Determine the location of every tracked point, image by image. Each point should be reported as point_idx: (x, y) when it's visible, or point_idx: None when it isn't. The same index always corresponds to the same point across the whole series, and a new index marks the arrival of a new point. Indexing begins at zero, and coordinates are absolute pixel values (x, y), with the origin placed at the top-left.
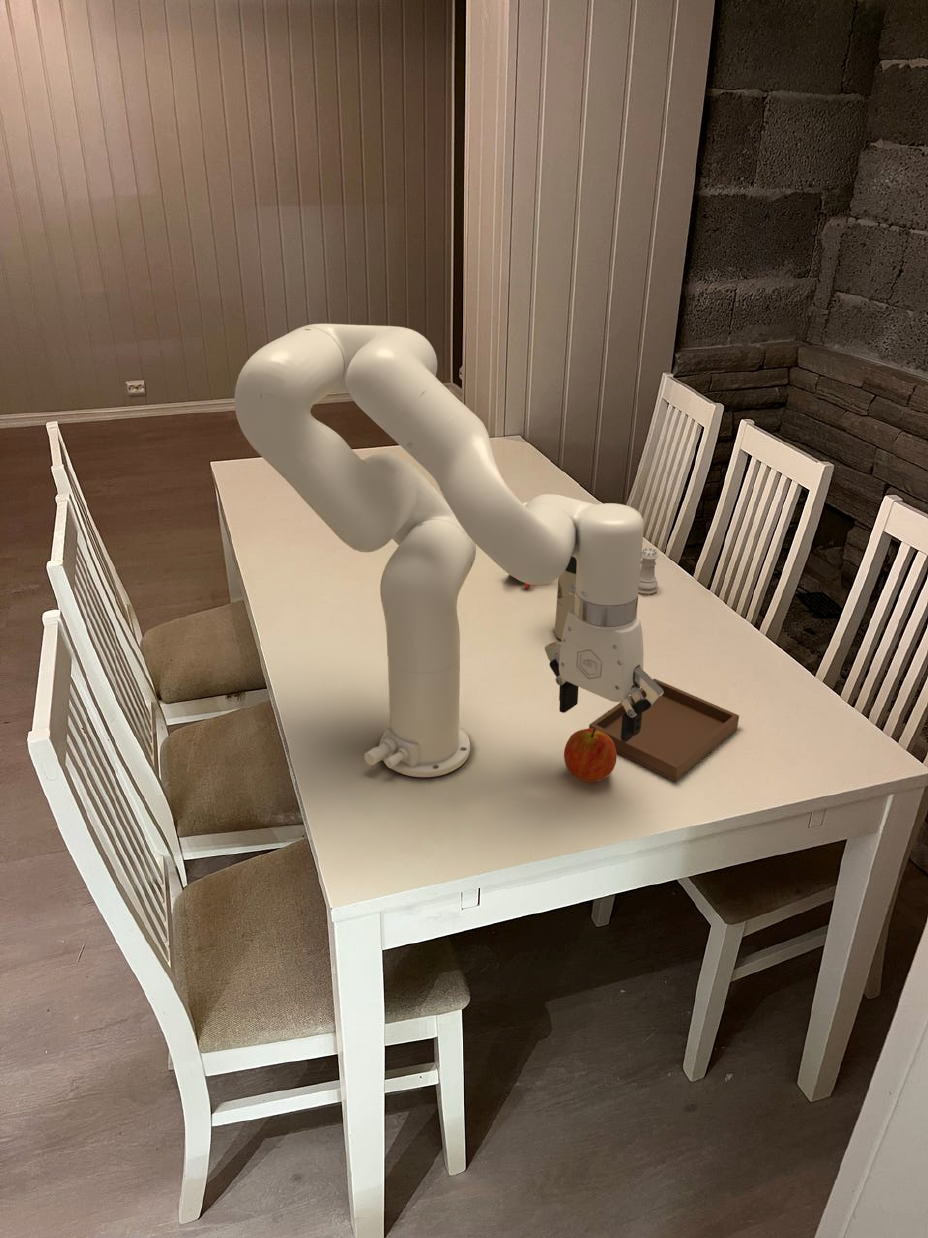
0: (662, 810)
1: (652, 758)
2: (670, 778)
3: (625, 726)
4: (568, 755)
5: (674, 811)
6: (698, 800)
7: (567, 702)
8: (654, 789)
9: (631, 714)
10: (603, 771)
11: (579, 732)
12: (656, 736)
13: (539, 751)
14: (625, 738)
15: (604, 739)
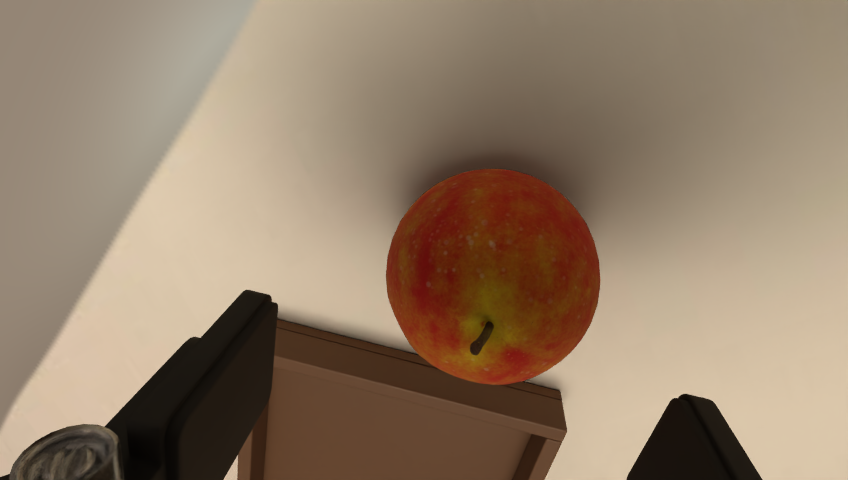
0: (232, 191)
1: (328, 362)
2: (279, 323)
3: (186, 355)
4: (563, 211)
5: (205, 203)
6: (183, 276)
7: (688, 466)
8: (296, 266)
9: (80, 450)
10: (407, 211)
11: (554, 330)
12: (385, 454)
13: (695, 278)
14: (236, 304)
15: (429, 330)
